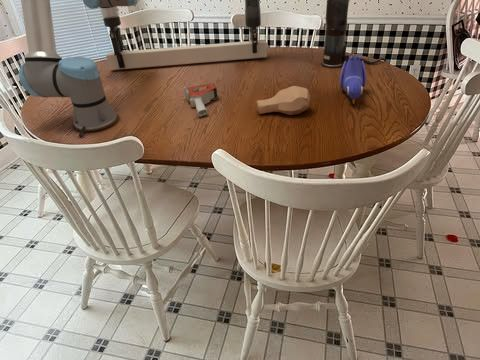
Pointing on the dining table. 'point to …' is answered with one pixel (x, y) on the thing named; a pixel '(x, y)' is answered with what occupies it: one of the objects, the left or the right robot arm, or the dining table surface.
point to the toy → (353, 77)
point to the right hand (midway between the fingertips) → (254, 51)
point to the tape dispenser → (201, 97)
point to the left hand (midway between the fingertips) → (123, 65)
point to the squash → (286, 101)
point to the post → (188, 54)
